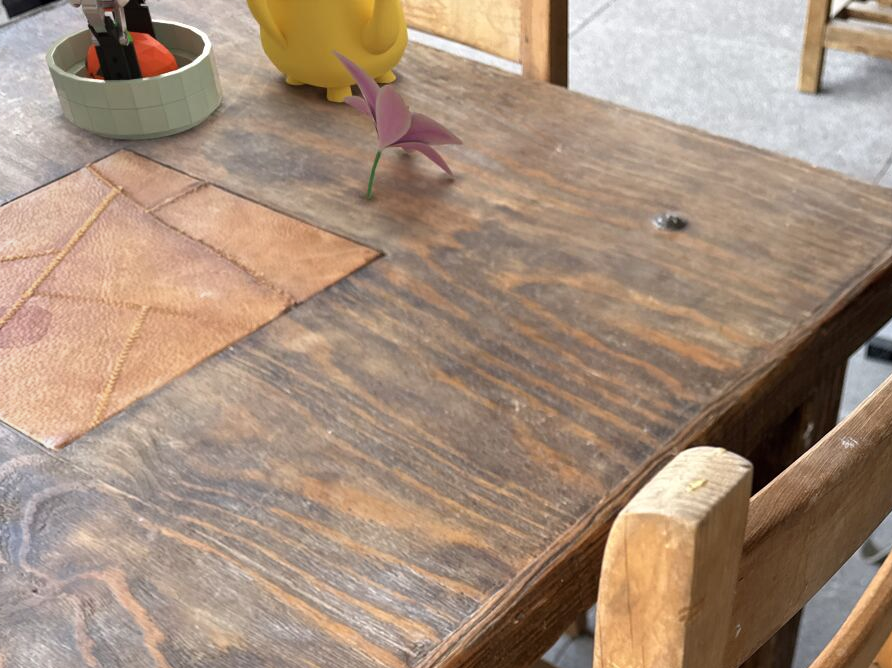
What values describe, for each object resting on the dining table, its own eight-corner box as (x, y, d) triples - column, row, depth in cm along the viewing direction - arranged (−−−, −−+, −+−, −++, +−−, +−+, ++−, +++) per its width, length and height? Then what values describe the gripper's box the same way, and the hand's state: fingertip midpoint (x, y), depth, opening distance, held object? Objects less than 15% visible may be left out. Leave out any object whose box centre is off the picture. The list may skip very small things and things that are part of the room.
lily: (470, 227, 97) (494, 98, 93) (333, 188, 91) (352, 49, 87) (424, 212, 106) (444, 93, 102) (296, 176, 100) (312, 49, 96)
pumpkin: (166, 122, 103) (145, 41, 98) (84, 112, 104) (59, 31, 99) (200, 90, 108) (182, 11, 103) (121, 80, 109) (99, 1, 104)
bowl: (51, 146, 102) (30, 84, 98) (81, 79, 111) (63, 20, 107) (214, 143, 103) (200, 81, 99) (232, 77, 111) (219, 18, 108)
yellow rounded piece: (266, 116, 107) (236, -35, 97) (272, 54, 115) (245, -91, 106) (417, 110, 108) (402, -40, 98) (412, 49, 116) (398, -95, 107)
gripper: (41, -205, 95) (109, 37, 109) (-9, -142, 85) (74, 117, 99) (134, -204, 96) (190, 36, 110) (96, -142, 85) (163, 115, 99)
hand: (134, 73), depth 104 cm, fingers closed on pumpkin, 7 cm apart
